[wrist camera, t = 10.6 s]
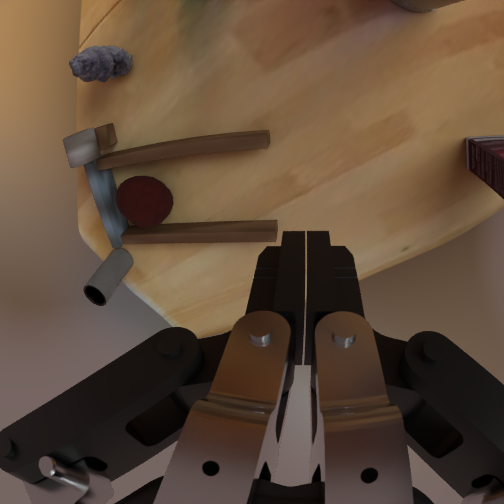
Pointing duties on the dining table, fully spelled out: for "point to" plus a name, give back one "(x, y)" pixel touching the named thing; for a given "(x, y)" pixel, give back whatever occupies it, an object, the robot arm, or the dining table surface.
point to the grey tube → (108, 276)
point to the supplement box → (487, 160)
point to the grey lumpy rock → (101, 63)
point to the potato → (144, 201)
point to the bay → (99, 166)
